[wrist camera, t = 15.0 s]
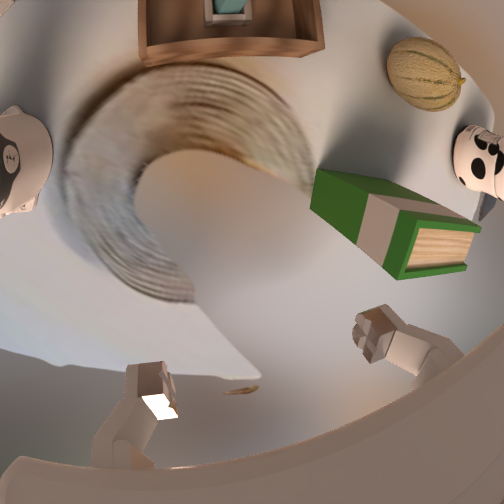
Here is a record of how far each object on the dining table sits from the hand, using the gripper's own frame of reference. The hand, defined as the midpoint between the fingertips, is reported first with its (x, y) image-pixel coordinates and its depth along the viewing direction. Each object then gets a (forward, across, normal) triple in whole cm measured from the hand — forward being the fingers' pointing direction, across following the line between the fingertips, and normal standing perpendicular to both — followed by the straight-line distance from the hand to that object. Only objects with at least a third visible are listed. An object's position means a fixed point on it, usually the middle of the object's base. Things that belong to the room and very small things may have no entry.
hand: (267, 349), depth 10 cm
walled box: (+35, -6, -27) cm, 45 cm away
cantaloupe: (+35, -40, -18) cm, 56 cm away
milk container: (+36, -67, -2) cm, 76 cm away
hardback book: (+35, -28, +7) cm, 46 cm away
